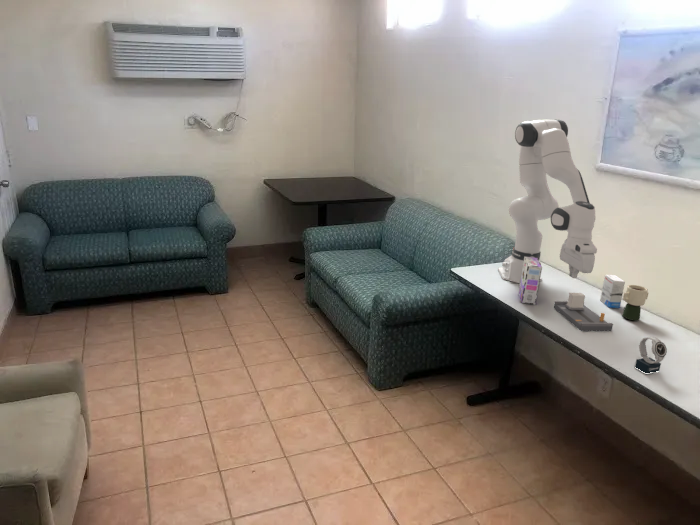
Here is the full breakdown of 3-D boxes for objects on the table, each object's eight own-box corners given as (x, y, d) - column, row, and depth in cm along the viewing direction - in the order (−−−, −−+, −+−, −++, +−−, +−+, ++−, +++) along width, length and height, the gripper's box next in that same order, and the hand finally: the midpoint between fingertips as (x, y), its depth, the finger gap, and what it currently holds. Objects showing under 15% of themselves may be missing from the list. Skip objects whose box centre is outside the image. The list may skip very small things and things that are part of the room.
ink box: (620, 308, 226) (626, 281, 222) (608, 308, 226) (614, 281, 222) (610, 300, 234) (616, 274, 231) (599, 300, 234) (604, 274, 230)
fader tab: (564, 305, 219) (567, 292, 217) (579, 306, 220) (581, 292, 218) (569, 309, 215) (572, 295, 213) (584, 309, 216) (587, 296, 214)
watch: (651, 377, 170) (659, 345, 167) (630, 365, 177) (637, 334, 174) (664, 375, 172) (672, 343, 169) (643, 363, 179) (650, 332, 176)
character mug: (635, 314, 220) (642, 284, 217) (648, 321, 214) (656, 290, 210) (612, 315, 218) (619, 284, 214) (625, 323, 211) (632, 291, 207)
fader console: (553, 307, 222) (555, 296, 221) (581, 308, 224) (583, 296, 222) (580, 331, 201) (583, 318, 200) (611, 331, 203) (614, 318, 201)
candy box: (536, 305, 224) (542, 266, 219) (521, 303, 225) (527, 265, 220) (532, 293, 237) (538, 257, 232) (518, 292, 238) (524, 255, 233)
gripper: (558, 237, 225) (553, 269, 229) (583, 250, 206) (577, 285, 210) (573, 237, 226) (567, 269, 230) (599, 250, 206) (593, 285, 210)
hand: (572, 277), depth 220 cm, fingers closed
